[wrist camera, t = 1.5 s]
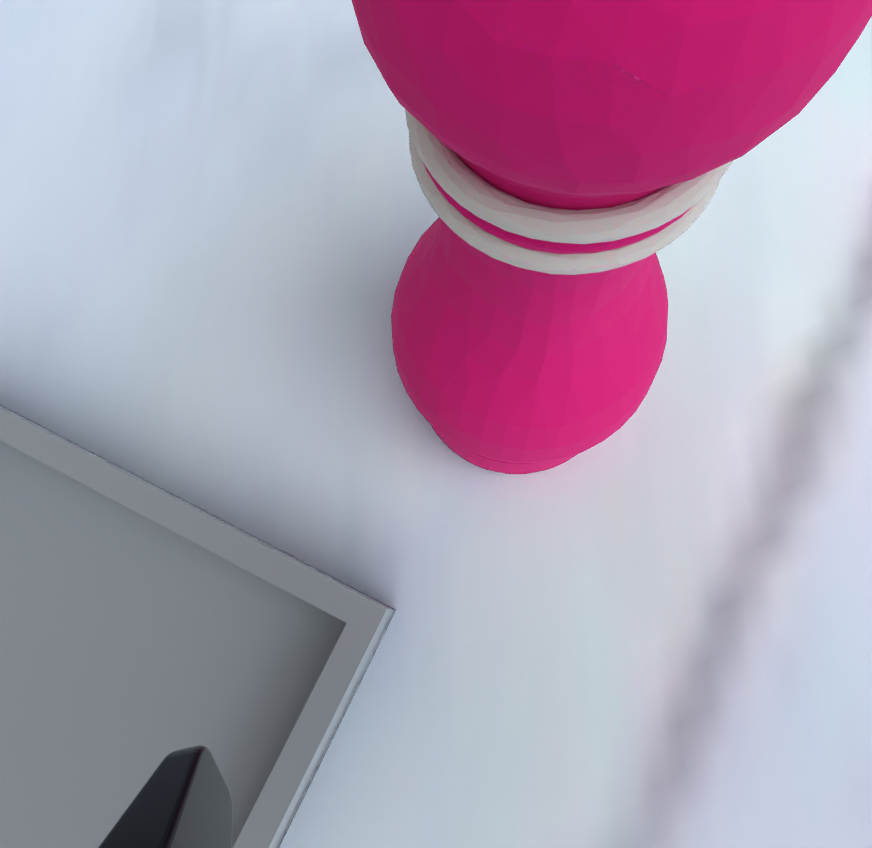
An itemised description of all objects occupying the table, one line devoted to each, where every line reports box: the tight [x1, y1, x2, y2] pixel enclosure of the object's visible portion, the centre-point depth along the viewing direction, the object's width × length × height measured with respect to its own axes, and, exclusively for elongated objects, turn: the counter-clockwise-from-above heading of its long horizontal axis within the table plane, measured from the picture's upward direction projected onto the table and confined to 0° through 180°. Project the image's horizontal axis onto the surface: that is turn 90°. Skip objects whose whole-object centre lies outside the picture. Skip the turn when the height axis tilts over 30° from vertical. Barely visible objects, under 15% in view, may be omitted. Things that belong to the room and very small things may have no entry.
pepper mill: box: [352, 0, 872, 474], centre depth 13 cm, size 7×7×20 cm
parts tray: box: [0, 406, 396, 848], centre depth 20 cm, size 16×16×2 cm
